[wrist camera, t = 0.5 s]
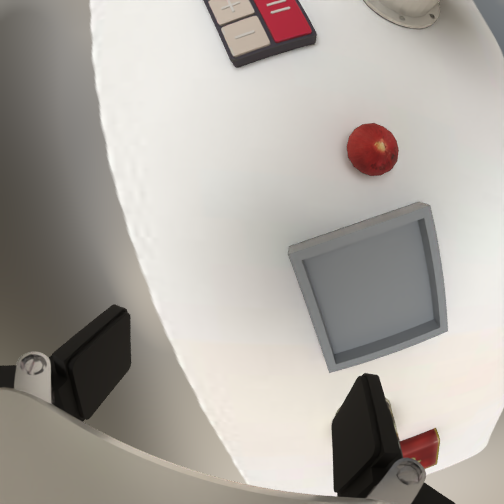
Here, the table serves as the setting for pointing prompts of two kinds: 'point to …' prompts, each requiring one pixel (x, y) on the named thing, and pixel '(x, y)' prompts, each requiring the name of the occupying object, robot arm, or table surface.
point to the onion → (372, 149)
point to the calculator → (260, 27)
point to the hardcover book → (422, 448)
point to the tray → (373, 286)
